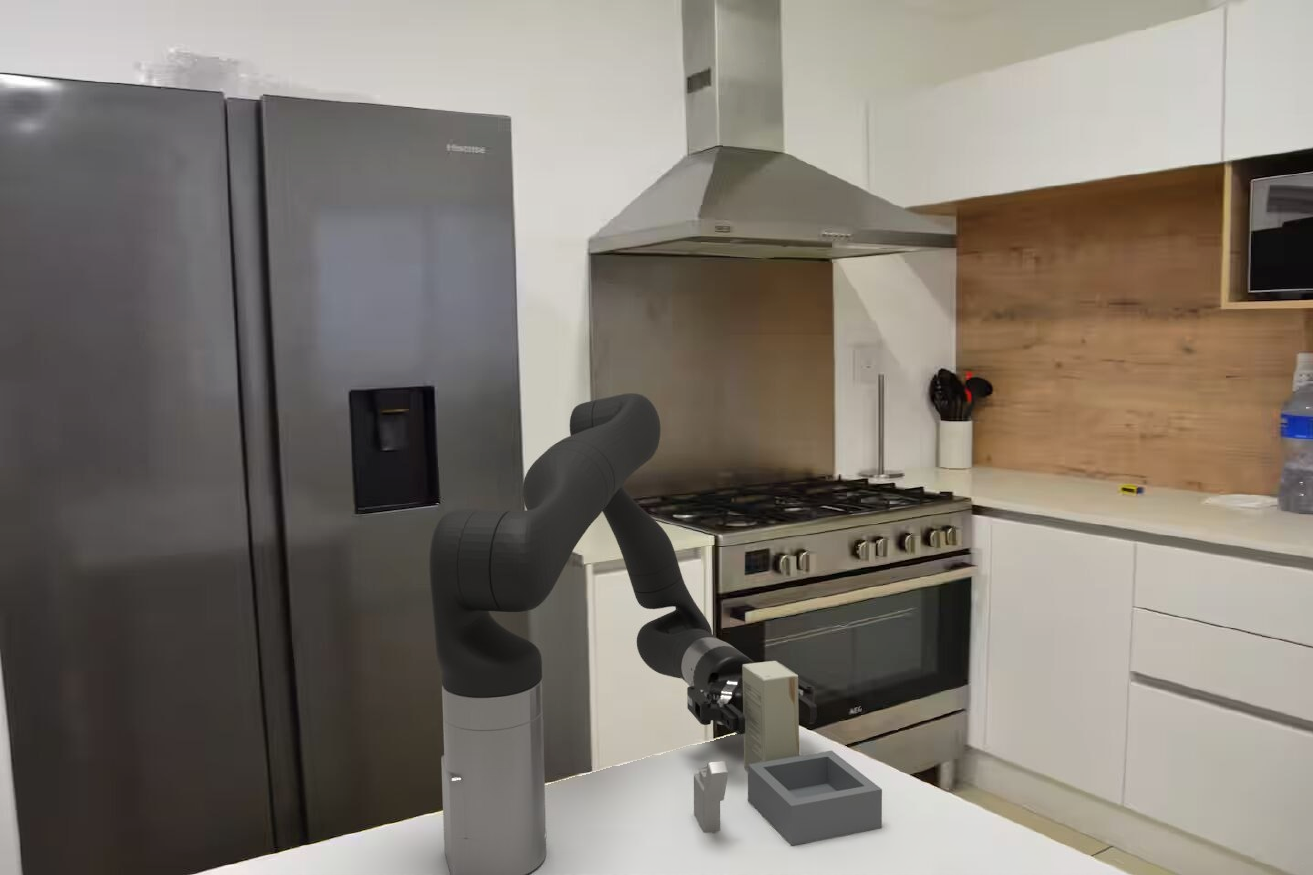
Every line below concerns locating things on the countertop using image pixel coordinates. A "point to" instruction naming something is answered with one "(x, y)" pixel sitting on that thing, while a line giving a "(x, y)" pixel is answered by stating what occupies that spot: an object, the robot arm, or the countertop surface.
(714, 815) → the lighter
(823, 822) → the holder
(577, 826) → the countertop surface
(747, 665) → the skincare box
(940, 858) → the countertop surface
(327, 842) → the countertop surface
